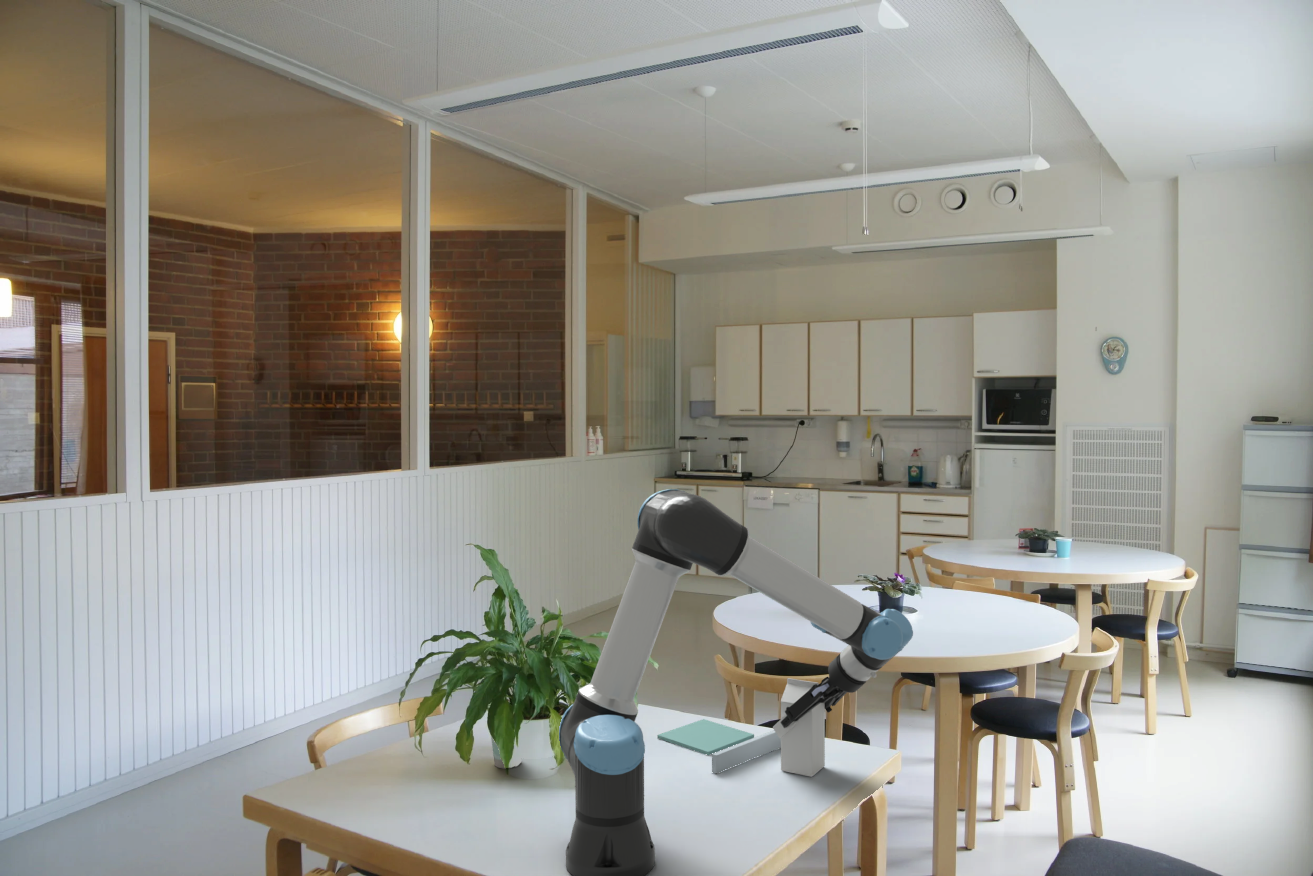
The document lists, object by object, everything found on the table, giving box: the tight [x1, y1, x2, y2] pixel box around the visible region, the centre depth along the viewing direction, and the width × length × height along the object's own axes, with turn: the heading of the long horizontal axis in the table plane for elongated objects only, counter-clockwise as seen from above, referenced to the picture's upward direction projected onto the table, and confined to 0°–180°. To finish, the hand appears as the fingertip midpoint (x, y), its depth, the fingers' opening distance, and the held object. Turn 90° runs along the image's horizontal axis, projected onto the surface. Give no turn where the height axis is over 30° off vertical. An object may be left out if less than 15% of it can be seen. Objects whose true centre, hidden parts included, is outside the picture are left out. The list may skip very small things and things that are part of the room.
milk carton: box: [780, 677, 826, 777], centre depth 202 cm, size 7×7×19 cm
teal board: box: [657, 718, 755, 756], centre depth 222 cm, size 16×16×1 cm
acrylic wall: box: [711, 729, 781, 774], centre depth 210 cm, size 28×1×4 cm, turn 135°
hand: (790, 727), depth 205 cm, fingers closed on milk carton, 8 cm apart
